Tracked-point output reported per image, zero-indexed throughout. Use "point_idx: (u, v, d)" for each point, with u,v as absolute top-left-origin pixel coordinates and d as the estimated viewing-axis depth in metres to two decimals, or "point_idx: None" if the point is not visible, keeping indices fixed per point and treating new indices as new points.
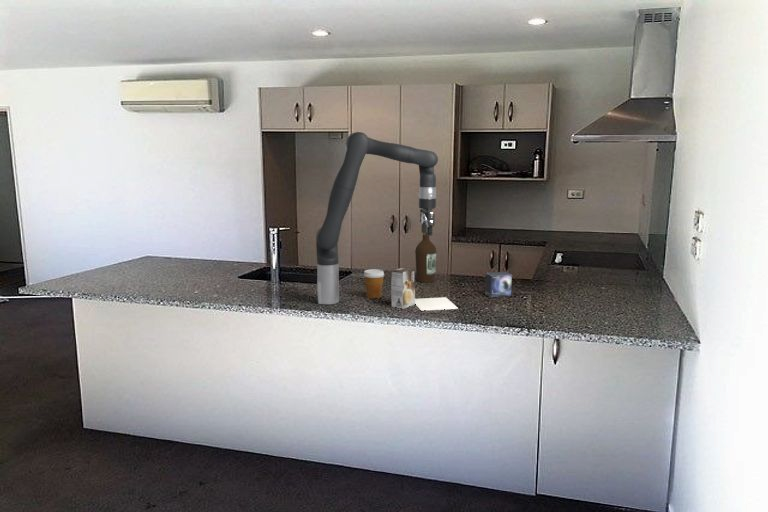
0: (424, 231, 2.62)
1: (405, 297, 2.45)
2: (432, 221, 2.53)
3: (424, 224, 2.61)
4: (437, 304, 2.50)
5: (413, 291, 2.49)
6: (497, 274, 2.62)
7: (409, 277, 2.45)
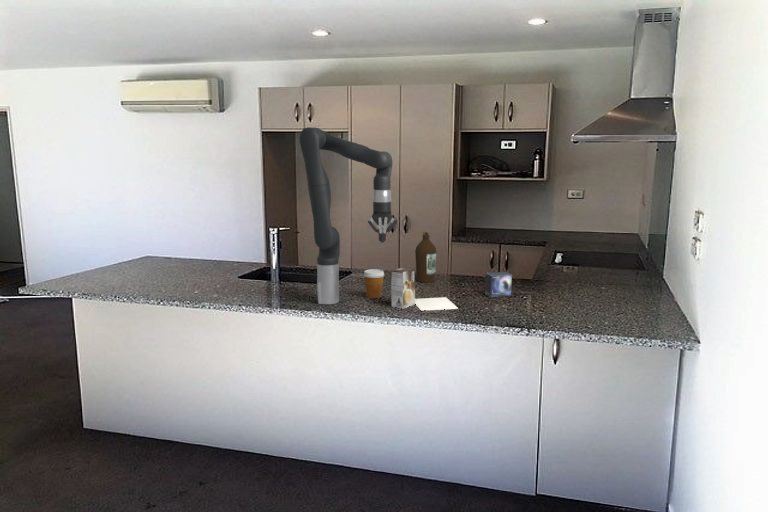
0: None
1: (405, 297, 2.45)
2: None
3: (381, 233, 2.42)
4: (437, 304, 2.50)
5: (413, 291, 2.49)
6: (497, 274, 2.62)
7: (409, 277, 2.45)
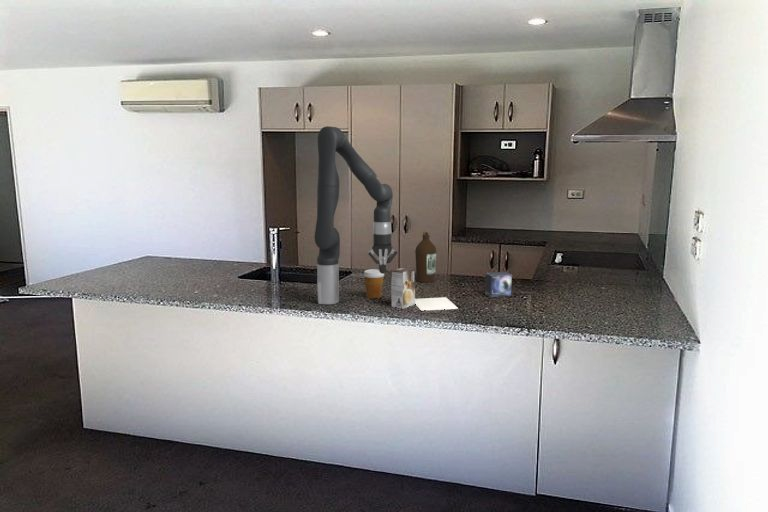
0: None
1: (405, 297, 2.45)
2: None
3: (382, 264, 2.45)
4: (437, 304, 2.50)
5: (413, 291, 2.49)
6: (497, 274, 2.62)
7: (409, 277, 2.45)
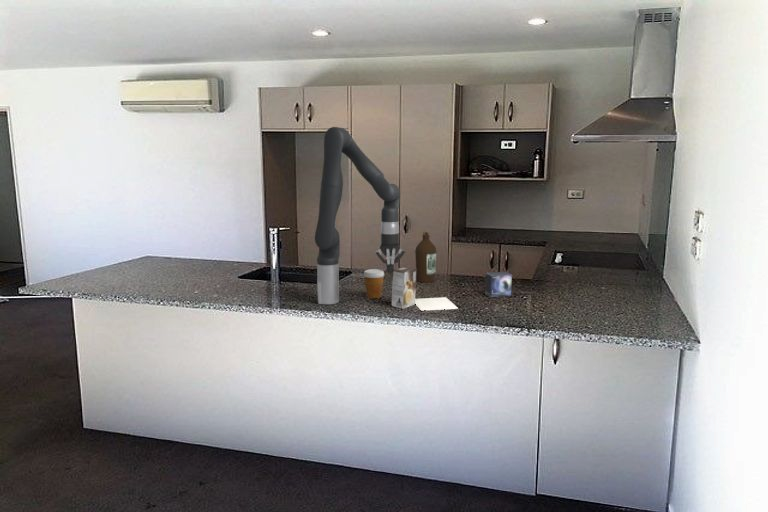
0: None
1: (406, 297, 2.45)
2: None
3: None
4: (437, 304, 2.50)
5: (414, 291, 2.49)
6: (497, 274, 2.62)
7: (410, 277, 2.45)
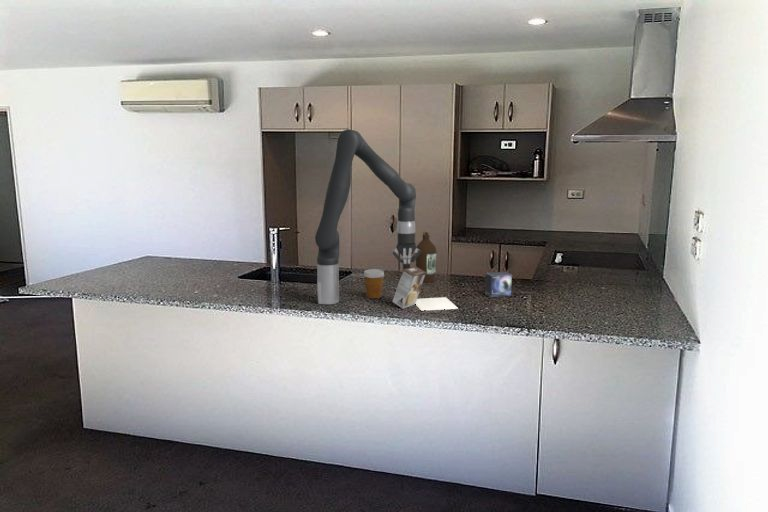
0: None
1: (409, 298, 2.44)
2: None
3: (406, 263, 2.46)
4: (437, 304, 2.50)
5: (417, 293, 2.48)
6: (497, 274, 2.62)
7: (418, 281, 2.43)
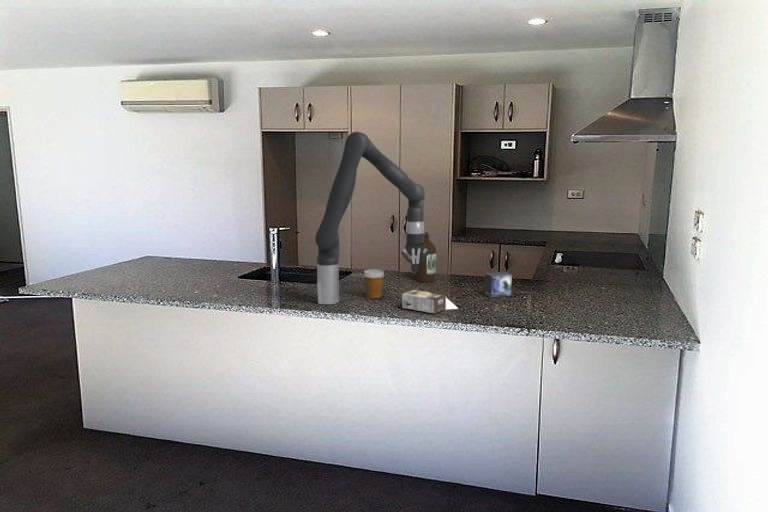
0: None
1: None
2: None
3: None
4: None
5: None
6: (497, 274, 2.62)
7: None
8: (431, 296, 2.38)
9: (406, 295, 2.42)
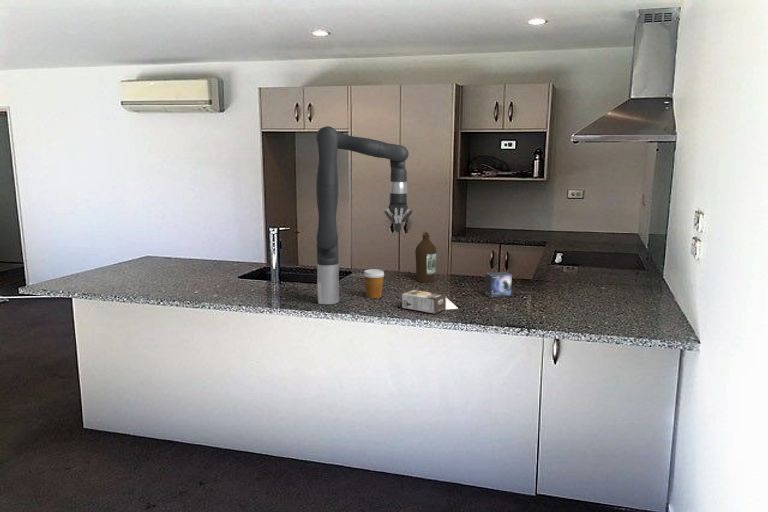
0: None
1: None
2: None
3: None
4: None
5: None
6: (497, 274, 2.62)
7: None
8: (431, 296, 2.38)
9: (406, 295, 2.42)
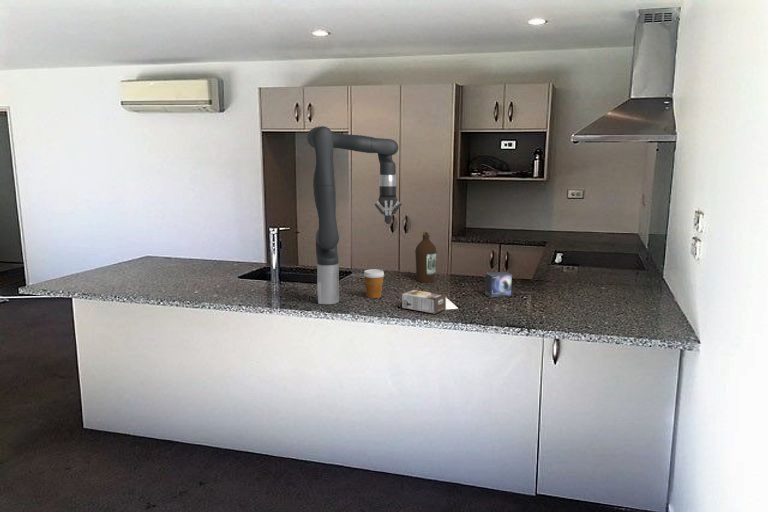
0: None
1: None
2: None
3: None
4: None
5: None
6: (497, 274, 2.62)
7: None
8: (431, 296, 2.38)
9: (406, 295, 2.42)
